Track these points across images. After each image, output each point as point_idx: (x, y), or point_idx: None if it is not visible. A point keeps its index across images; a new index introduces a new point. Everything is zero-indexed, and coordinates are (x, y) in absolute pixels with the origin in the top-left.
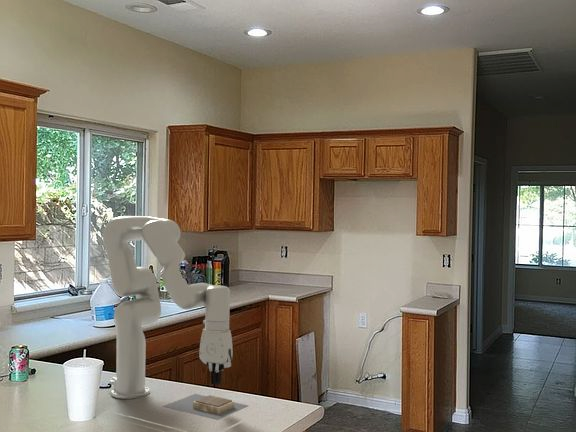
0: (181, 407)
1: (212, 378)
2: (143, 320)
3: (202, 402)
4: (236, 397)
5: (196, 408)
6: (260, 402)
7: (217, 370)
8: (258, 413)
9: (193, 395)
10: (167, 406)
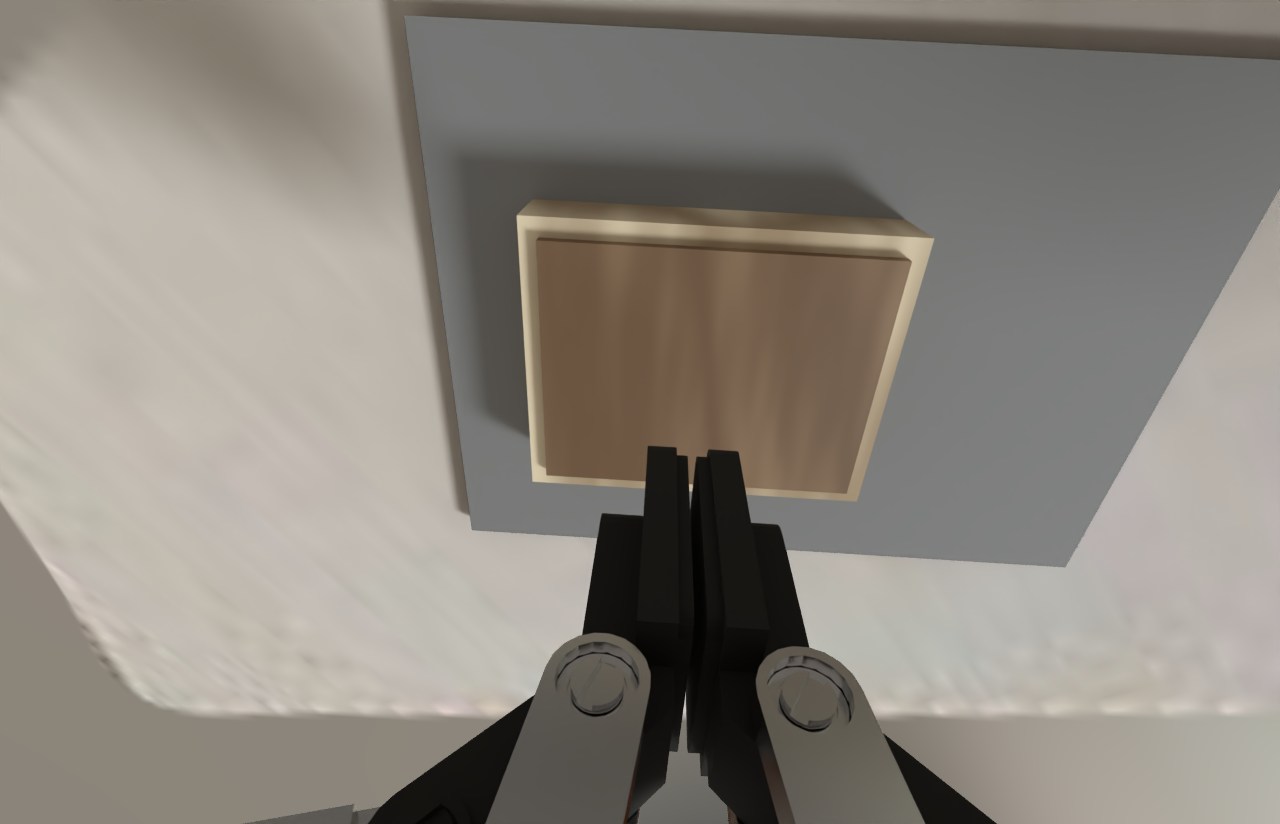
0: (1057, 163)
1: (714, 519)
2: None
3: (793, 253)
4: None
5: (856, 219)
6: (487, 632)
7: (571, 686)
8: (312, 448)
9: (1064, 528)
10: (1267, 93)
